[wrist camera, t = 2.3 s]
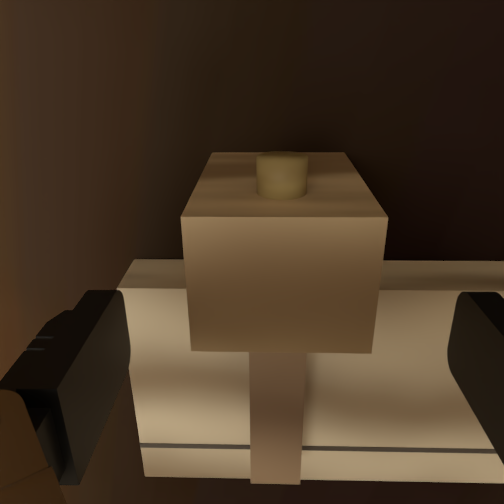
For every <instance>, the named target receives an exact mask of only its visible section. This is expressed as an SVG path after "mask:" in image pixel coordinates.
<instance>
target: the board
mask: <svg viewBox="0 0 504 504" xmlns="http://www.w3.org/2000/svg"><path fill="white" fill-rule="evenodd" d="M117 290H120V291H121V292H122V294H123V297H124V303H125V310H126V317H127V324H128V331H129V338H130V345H131V356H130V364H129V372H130V379H131V386H132V392H133V399H134V406H135V412H136V419H137V426H138V432H139V439H140V448H141V452H142V459H143V466H144V472H145V476H151V477H203V478H251V466H250V390H249V352H201V351H191V343H190V330H189V318H188V305H187V292H186V279H185V266H184V259H134V261H133V262H132V264H131V266H130V267H129V269H128V271H127V272H126V274H125V276H124V277H123V279H122V281H121V282H120V284H119V286H118V287H117ZM463 291H466V292H497V293H499V294H500V295H501V296H502V297H503V298H504V261H383V265H382V273H381V281H380V289H379V297H378V305H377V313H376V321H375V329H374V337H373V346H372V354H357V353H307V358H306V377H305V397H304V416H303V436H302V455H301V475H300V479H307V480H360V481H412V482H464V483H504V465H503V463H502V461H501V460H500V458H499V456H498V454H497V453H496V451H495V449H494V447H493V446H492V444H491V442H490V440H489V439H488V437H487V435H486V433H485V432H484V430H483V428H482V426H481V425H480V423H479V421H478V419H477V418H476V416H475V414H474V412H473V411H472V409H471V407H470V405H469V404H468V402H467V400H466V398H465V397H464V395H463V393H462V391H461V390H460V388H459V386H458V384H457V383H456V381H455V379H454V377H453V376H452V374H451V372H450V369H449V365H448V359H447V347H448V342H449V336H450V331H451V326H452V321H453V316H454V310H455V305H456V301H457V298H458V295H459V294H460V293H461V292H463Z"/></svg>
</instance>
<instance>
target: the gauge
mask: <svg viewBox="0 0 504 504" xmlns="http://www.w3.org/2000/svg"><path fill="white" fill-rule="evenodd" d="M387 224H388V216H387V215H386V213H385V212H384V210H383V209H382V207H381V206H380V204H379V203H378V201H377V200H376V199H375V197H374V196H373V194H372V193H371V191H370V190H369V188H368V187H367V185H366V184H365V182H364V181H363V179H362V178H361V176H360V175H359V173H358V172H357V170H356V169H355V167H354V166H353V164H352V163H351V161H350V160H349V159H348V157H347V156H346V154H345V153H344V152H292V151H272V152H257V153H212V154H211V156H210V158H209V160H208V162H207V164H206V166H205V168H204V170H203V172H202V174H201V176H200V178H199V181H198V183H197V185H196V187H195V189H194V191H193V193H192V195H191V197H190V199H189V201H188V203H187V205H186V207H185V209H184V211H183V213H182V215H181V227H182V240H183V253H184V266H185V279H186V292H187V305H188V318H189V330H190V343H191V351H201V352H249V390H250V466H251V483H260V484H300V475H301V455H302V436H303V416H304V397H305V377H306V358H307V353H357V354H372V346H373V337H374V329H375V321H376V313H377V305H378V297H379V289H380V281H381V273H382V265H383V257H384V248H385V240H386V232H387Z"/></svg>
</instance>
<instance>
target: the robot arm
mask: <svg viewBox="0 0 504 504" xmlns="http://www.w3.org/2000/svg"><path fill="white" fill-rule="evenodd" d="M130 356H131V345H130V338H129V331H128V324H127V317H126V310H125V303H124V297H123V294H122V292H121V291H120V290H88V291H87V292H86V293H85V294H84V296H83V297H82V298H81V300H80V301H79V302H78V304H77V305H76V307H75V308H74V309H73V310H65V311H63V312H62V313H60V314H59V315H57V316H56V317H54V318H53V319H51V320H50V321H48V322H47V323H46V324H45V325H44V327H43V328H42V329H41V330H40V332H39V333H38V334H37V335H36V339H33V340H32V342H31V343H30V344H29V345H28V347H27V350H26V351H24V352H23V353H22V354H21V356H20V357H19V358H18V359H17V361H16V362H15V363H14V364H13V366H12V367H11V368H10V369H9V371H8V372H7V373H6V374H5V376H4V377H3V378H2V380H1V381H0V504H67V503H66V500H65V498H64V495H63V493H62V490H61V487H60V485H79V484H80V482H81V480H82V477H83V475H84V473H85V470H86V468H87V466H88V463H89V461H90V458H91V456H92V454H93V451H94V449H95V447H96V444H97V442H98V440H99V437H100V435H101V432H102V430H103V428H104V425H105V423H106V421H107V418H108V416H109V414H110V411H111V409H112V407H113V404H114V402H115V399H116V397H117V395H118V392H119V390H120V388H121V385H122V383H123V381H124V378H125V376H126V373H127V371H128V368H129V364H130ZM447 359H448V365H449V369H450V372H451V374H452V376H453V377H454V379H455V381H456V383H457V384H458V386H459V388H460V390H461V391H462V393H463V395H464V397H465V398H466V400H467V402H468V404H469V405H470V407H471V409H472V411H473V412H474V414H475V416H476V418H477V419H478V421H479V423H480V425H481V426H482V428H483V430H484V432H485V433H486V435H487V437H488V439H489V440H490V442H491V444H492V446H493V447H494V449H495V451H496V453H497V454H498V456H499V458H500V460H501V461H502V463H503V465H504V298H503V297H502V296H501V295H500V294H499V293H497V292H466V291H463V292H461V293H460V294H459V295H458V298H457V301H456V305H455V310H454V316H453V321H452V326H451V331H450V336H449V342H448V347H447Z"/></svg>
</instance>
